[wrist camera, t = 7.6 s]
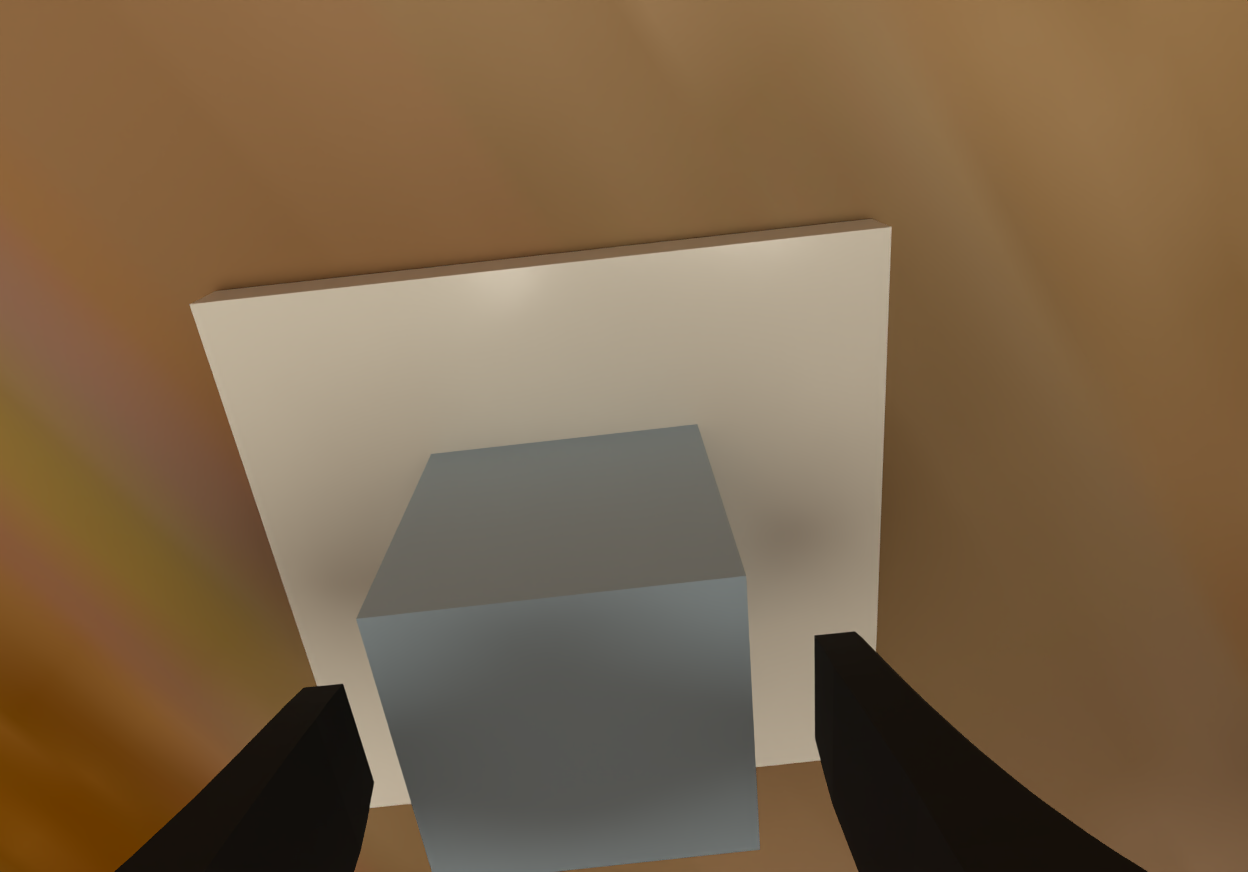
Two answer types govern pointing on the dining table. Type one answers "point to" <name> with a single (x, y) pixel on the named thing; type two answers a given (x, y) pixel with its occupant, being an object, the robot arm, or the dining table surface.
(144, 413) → the dining table surface
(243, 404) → the cream tile
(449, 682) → the grey cube
